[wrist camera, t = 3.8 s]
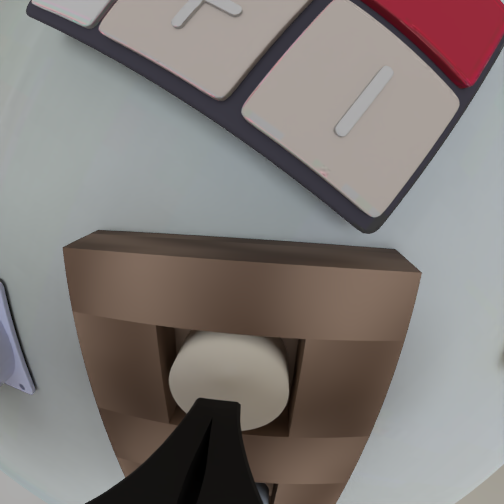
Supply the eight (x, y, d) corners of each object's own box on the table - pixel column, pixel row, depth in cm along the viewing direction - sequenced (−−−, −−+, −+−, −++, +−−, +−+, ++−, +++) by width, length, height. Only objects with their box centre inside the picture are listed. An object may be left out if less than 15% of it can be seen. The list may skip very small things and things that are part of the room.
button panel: (169, 527, 21) (163, 548, 18) (97, 230, 12) (62, 247, 10) (297, 541, 20) (297, 563, 17) (395, 249, 12) (421, 272, 9)
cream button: (185, 392, 14) (174, 422, 12) (179, 309, 12) (163, 335, 10) (282, 402, 13) (282, 434, 11) (293, 318, 12) (296, 348, 10)
